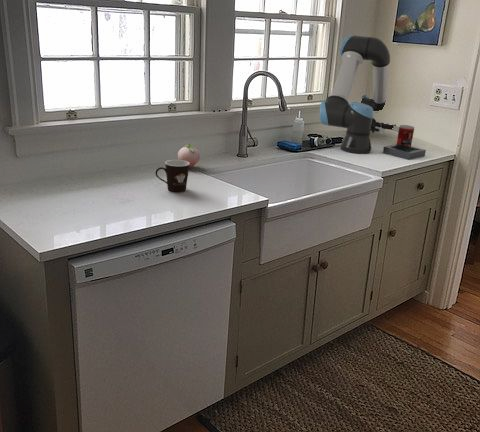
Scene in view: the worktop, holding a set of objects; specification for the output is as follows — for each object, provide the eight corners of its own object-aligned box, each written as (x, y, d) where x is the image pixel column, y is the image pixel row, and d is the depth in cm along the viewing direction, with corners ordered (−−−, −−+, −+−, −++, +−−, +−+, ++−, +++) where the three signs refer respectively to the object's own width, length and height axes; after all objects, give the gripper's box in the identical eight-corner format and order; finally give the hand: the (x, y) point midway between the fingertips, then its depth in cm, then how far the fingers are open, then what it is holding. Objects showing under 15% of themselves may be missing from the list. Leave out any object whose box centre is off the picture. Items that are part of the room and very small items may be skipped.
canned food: (401, 148, 278) (404, 128, 275) (393, 144, 286) (396, 124, 282) (413, 148, 281) (417, 128, 277) (405, 144, 288) (409, 125, 284)
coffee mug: (189, 186, 193) (190, 160, 190) (188, 194, 185) (188, 166, 182) (157, 185, 193) (158, 158, 189) (154, 192, 185) (155, 165, 181)
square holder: (408, 159, 256) (409, 153, 255) (382, 152, 266) (383, 146, 265) (424, 156, 265) (425, 150, 264) (398, 149, 275) (399, 143, 274)
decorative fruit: (173, 166, 218) (174, 142, 214) (190, 164, 222) (191, 140, 219) (185, 172, 211) (185, 147, 207) (202, 169, 215) (203, 146, 212)
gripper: (382, 128, 313) (408, 136, 296) (349, 130, 301) (374, 138, 284) (384, 116, 310) (410, 123, 293) (351, 117, 298) (377, 125, 281)
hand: (393, 131), depth 288 cm, fingers open, 13 cm apart
